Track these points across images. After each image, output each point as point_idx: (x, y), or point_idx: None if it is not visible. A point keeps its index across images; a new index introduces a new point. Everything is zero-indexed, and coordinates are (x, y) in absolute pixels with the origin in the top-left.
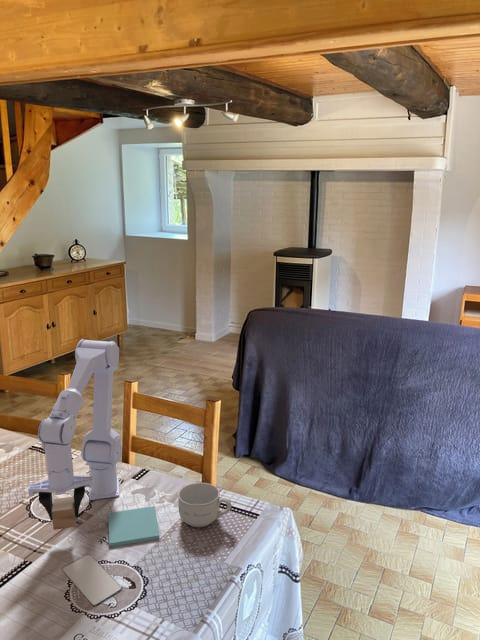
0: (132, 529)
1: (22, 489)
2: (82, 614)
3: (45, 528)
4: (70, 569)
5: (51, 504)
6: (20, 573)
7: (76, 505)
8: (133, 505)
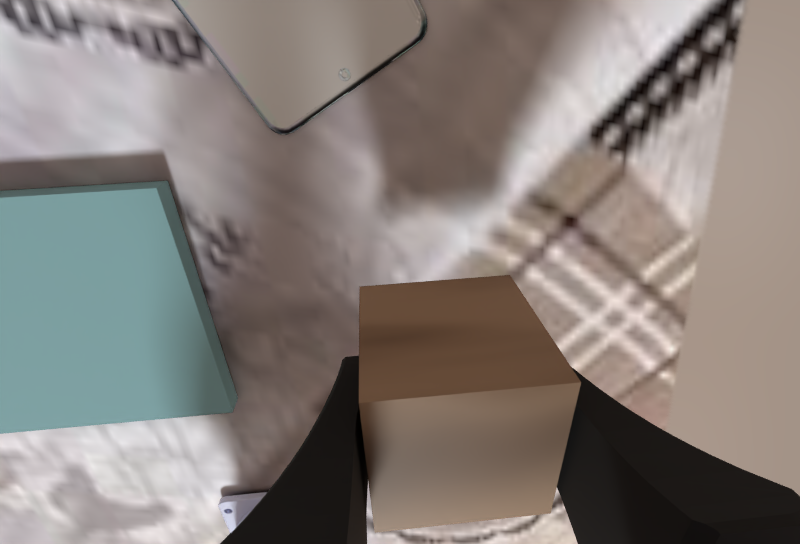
0: (44, 285)
1: None
2: None
3: None
4: (373, 7)
5: (581, 463)
6: (659, 46)
7: (339, 437)
8: (134, 447)
